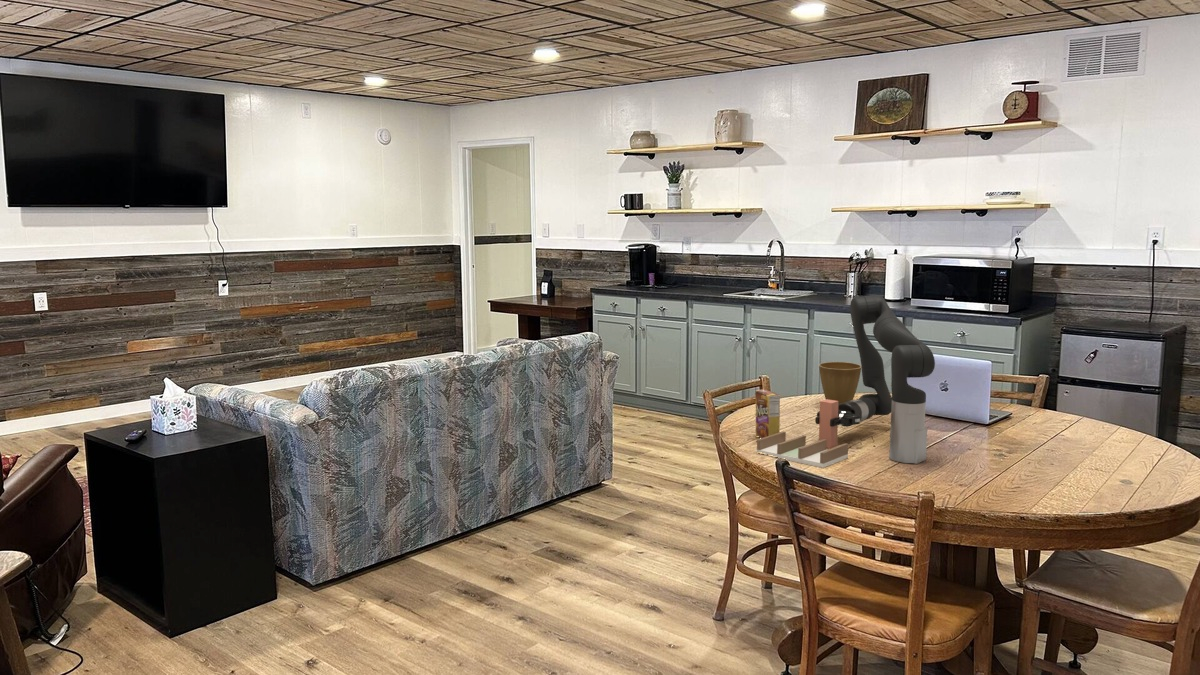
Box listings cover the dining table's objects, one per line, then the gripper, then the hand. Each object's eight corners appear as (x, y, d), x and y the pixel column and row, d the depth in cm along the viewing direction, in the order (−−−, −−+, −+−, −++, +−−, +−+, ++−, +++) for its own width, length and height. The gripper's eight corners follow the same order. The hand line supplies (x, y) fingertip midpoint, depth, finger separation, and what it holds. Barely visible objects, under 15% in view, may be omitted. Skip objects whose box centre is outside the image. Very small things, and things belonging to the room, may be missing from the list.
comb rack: (847, 457, 255) (848, 443, 254) (823, 467, 245) (823, 453, 244) (782, 444, 270) (782, 431, 269) (756, 453, 260) (757, 439, 260)
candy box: (754, 436, 280) (755, 389, 278) (766, 435, 281) (767, 388, 279) (767, 443, 271) (768, 395, 269) (779, 442, 273) (781, 394, 271)
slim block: (837, 445, 268) (838, 401, 266) (830, 448, 265) (831, 403, 263) (825, 443, 271) (826, 399, 269) (818, 446, 268) (820, 401, 266)
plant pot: (812, 404, 327) (813, 362, 325) (851, 403, 328) (853, 361, 326) (825, 413, 312) (826, 368, 310) (866, 412, 313) (867, 368, 311)
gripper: (831, 397, 282) (803, 406, 269) (873, 404, 272) (845, 413, 260) (831, 420, 283) (802, 430, 270) (872, 427, 273) (844, 438, 261)
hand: (824, 421), depth 265 cm, fingers open, 4 cm apart
